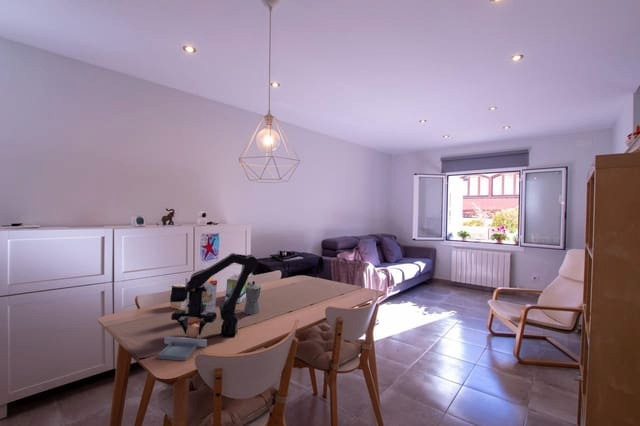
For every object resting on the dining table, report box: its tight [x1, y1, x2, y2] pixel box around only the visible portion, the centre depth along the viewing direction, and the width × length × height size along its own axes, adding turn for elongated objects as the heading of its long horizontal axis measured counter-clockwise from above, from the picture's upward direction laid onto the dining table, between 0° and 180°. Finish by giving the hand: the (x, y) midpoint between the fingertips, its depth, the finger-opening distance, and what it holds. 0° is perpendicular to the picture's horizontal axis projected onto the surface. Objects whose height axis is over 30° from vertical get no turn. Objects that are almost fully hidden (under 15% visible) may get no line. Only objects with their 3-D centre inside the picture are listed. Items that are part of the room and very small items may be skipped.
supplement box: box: [169, 283, 186, 310], centre depth 169 cm, size 8×5×13 cm, turn 69°
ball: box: [185, 323, 200, 339], centre depth 136 cm, size 6×6×6 cm
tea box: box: [224, 273, 249, 304], centre depth 191 cm, size 15×10×15 cm
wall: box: [164, 335, 208, 348], centre depth 128 cm, size 18×1×3 cm, turn 90°
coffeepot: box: [243, 281, 262, 315], centre depth 172 cm, size 15×9×18 cm, turn 33°
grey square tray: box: [157, 342, 198, 361], centre depth 122 cm, size 11×11×2 cm
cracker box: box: [184, 277, 218, 325], centre depth 155 cm, size 14×6×21 cm, turn 138°
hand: (193, 334), depth 136 cm, fingers closed on ball, 6 cm apart
